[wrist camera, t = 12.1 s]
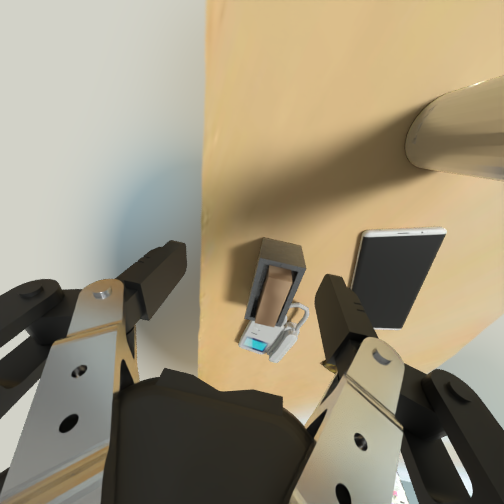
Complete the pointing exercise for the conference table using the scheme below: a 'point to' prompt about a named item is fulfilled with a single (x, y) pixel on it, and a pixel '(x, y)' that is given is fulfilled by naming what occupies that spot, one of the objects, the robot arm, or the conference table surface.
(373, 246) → the smartphone
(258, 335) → the intercom
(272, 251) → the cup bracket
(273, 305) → the brown rectangular block
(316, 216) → the conference table surface
